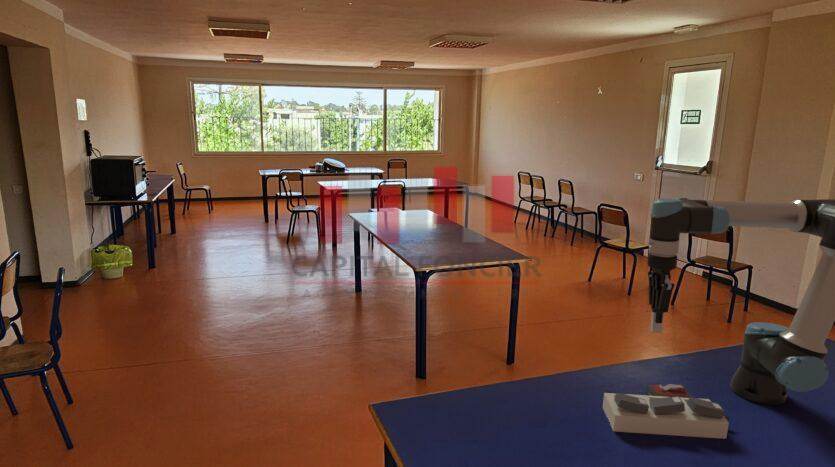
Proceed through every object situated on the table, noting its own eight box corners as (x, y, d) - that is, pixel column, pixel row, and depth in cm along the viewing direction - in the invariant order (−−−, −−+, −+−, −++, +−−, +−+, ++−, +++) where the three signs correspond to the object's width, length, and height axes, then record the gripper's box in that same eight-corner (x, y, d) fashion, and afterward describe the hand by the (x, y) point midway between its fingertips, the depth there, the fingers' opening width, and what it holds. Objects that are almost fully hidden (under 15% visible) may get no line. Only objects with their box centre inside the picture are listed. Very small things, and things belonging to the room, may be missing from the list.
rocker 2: (679, 403, 146) (678, 395, 145) (685, 411, 142) (684, 402, 142) (650, 407, 147) (649, 398, 147) (654, 414, 143) (653, 406, 143)
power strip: (717, 415, 152) (719, 399, 151) (737, 439, 141) (740, 422, 140) (602, 407, 156) (604, 392, 154) (613, 431, 144) (615, 414, 143)
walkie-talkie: (651, 406, 157) (719, 410, 156) (653, 393, 156) (721, 396, 155) (641, 391, 166) (705, 394, 164) (642, 379, 165) (707, 382, 163)
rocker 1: (641, 406, 147) (644, 398, 147) (646, 414, 143) (649, 406, 143) (614, 399, 148) (616, 391, 147) (618, 407, 144) (620, 399, 143)
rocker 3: (715, 411, 145) (718, 403, 145) (721, 419, 142) (725, 410, 141) (686, 404, 146) (690, 396, 145) (692, 411, 142) (696, 403, 141)
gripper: (640, 248, 152) (634, 323, 157) (658, 259, 139) (651, 341, 144) (666, 248, 151) (660, 323, 157) (687, 259, 139) (678, 341, 144)
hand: (655, 331), depth 150 cm, fingers closed
